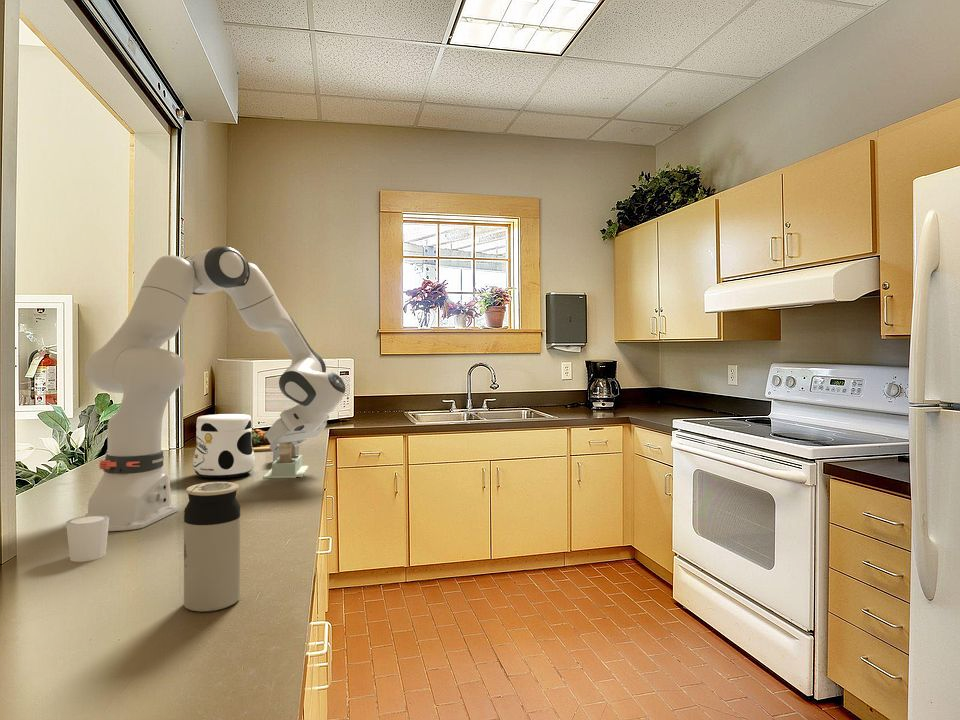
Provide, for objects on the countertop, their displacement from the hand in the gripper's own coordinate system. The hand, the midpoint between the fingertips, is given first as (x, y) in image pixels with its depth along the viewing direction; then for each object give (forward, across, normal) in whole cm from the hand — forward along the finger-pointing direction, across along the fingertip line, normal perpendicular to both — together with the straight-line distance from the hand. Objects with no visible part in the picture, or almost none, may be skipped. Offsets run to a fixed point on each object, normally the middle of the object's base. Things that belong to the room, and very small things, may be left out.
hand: (283, 446), depth 192 cm
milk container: (+16, +10, -4) cm, 20 cm away
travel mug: (-37, +76, +50) cm, 98 cm away
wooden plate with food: (+42, -36, -28) cm, 62 cm away
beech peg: (+5, 0, +6) cm, 8 cm away
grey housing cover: (+15, -13, -2) cm, 20 cm away
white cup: (-10, +73, +23) cm, 77 cm away
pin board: (+7, -2, +5) cm, 9 cm away
